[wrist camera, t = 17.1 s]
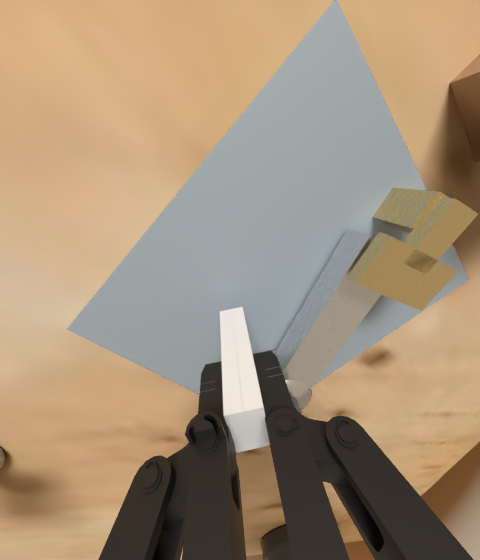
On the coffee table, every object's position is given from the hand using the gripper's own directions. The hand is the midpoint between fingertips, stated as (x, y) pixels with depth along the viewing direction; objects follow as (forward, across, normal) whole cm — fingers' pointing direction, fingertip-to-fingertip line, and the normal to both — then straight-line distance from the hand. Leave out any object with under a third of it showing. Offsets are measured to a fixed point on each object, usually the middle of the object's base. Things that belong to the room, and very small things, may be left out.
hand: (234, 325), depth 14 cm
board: (+2, +3, 0) cm, 4 cm away
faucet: (+1, +5, -2) cm, 6 cm away
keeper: (+2, +10, +4) cm, 11 cm away
